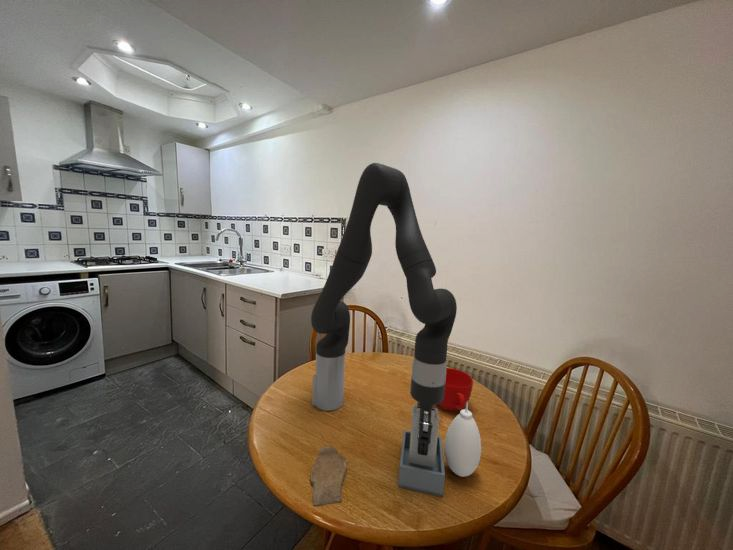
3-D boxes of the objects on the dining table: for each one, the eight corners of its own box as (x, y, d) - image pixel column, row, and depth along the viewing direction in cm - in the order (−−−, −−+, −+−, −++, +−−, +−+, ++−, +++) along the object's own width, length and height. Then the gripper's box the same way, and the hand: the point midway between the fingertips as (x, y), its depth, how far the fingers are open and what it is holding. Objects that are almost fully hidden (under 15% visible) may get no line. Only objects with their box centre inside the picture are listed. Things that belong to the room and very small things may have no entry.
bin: (398, 486, 61) (399, 466, 61) (402, 447, 73) (403, 429, 72) (442, 496, 59) (444, 475, 59) (439, 454, 71) (441, 436, 70)
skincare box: (434, 454, 67) (438, 408, 66) (435, 468, 63) (439, 419, 62) (408, 449, 68) (412, 404, 67) (407, 463, 64) (411, 414, 63)
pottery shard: (308, 458, 70) (311, 509, 56) (308, 448, 70) (312, 497, 55) (341, 453, 72) (353, 502, 58) (341, 443, 72) (353, 490, 58)
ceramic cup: (438, 425, 83) (441, 393, 81) (425, 393, 99) (427, 366, 98) (482, 426, 83) (485, 395, 82) (461, 394, 100) (464, 368, 98)
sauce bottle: (484, 477, 65) (493, 405, 63) (462, 492, 61) (471, 416, 58) (457, 455, 71) (464, 388, 69) (435, 467, 67) (442, 397, 65)
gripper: (448, 396, 56) (440, 474, 58) (443, 365, 69) (437, 429, 72) (409, 390, 57) (404, 466, 59) (412, 361, 71) (407, 423, 73)
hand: (422, 445), depth 65 cm, fingers closed on skincare box, 4 cm apart
